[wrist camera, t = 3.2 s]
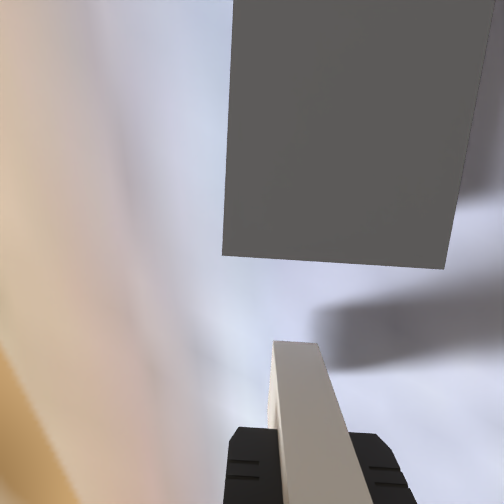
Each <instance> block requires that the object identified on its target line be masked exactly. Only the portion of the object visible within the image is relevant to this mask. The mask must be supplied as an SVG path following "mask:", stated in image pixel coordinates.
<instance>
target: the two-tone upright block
mask: <svg viewBox="0 0 504 504" xmlns="http://www.w3.org/2000/svg"><path fill="white" fill-rule="evenodd" d="M494 5H495V0H233V23H232V45H231V67H230V89H229V111H228V134H227V156H226V178H225V200H224V223H223V245H222V256H238V257H254V258H270V259H286V260H301V261H317V262H333V263H349V264H365V265H381V266H397V267H412V268H428V269H444V267H445V262H446V257H447V251H448V246H449V241H450V236H451V230H452V225H453V220H454V215H455V209H456V204H457V199H458V194H459V188H460V183H461V178H462V173H463V167H464V162H465V157H466V152H467V146H468V141H469V136H470V131H471V126H472V120H473V115H474V110H475V105H476V99H477V94H478V89H479V84H480V78H481V73H482V68H483V63H484V57H485V52H486V47H487V42H488V36H489V31H490V26H491V21H492V15H493V10H494Z"/></svg>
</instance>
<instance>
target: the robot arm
mask: <svg viewBox="0 0 504 504" xmlns="http://www.w3.org/2000/svg"><path fill="white" fill-rule="evenodd" d="M267 416H268V429H266V428H250V427H238V429H237V430H236V432H235V433H234V435H233V436H232V438H231V439H230V441H229V448H228V459H227V469H226V479H225V489H224V499H223V504H417V502H416V500H415V498H414V496H413V494H412V492H411V490H410V488H408V484H407V481H406V479H405V477H404V475H403V473H402V472H401V471H400V467H399V465H398V463H397V461H396V459H395V456H394V454H393V452H392V450H391V449H390V448H389V447H388V446H387V445H386V444H385V443H384V442H383V441H382V440H381V439H380V438H379V437H378V436H377V435H376V434H370V433H354V432H348V430H347V427H346V424H345V421H344V418H343V416H342V413H341V410H340V407H339V404H338V401H337V398H336V395H335V393H334V390H333V387H332V384H331V381H330V378H329V375H328V372H327V370H326V367H325V364H324V361H323V358H322V355H321V352H320V350H319V347H318V344H317V343H305V342H289V341H273V348H272V360H271V372H270V384H269V396H268V408H267Z"/></svg>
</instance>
